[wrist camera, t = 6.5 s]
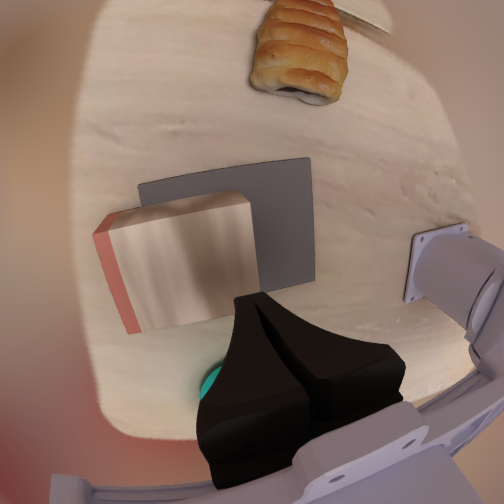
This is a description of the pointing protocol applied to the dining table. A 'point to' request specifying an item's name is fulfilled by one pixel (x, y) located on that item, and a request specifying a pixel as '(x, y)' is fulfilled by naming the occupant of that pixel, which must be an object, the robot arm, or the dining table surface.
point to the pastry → (301, 52)
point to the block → (179, 260)
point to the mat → (260, 213)
